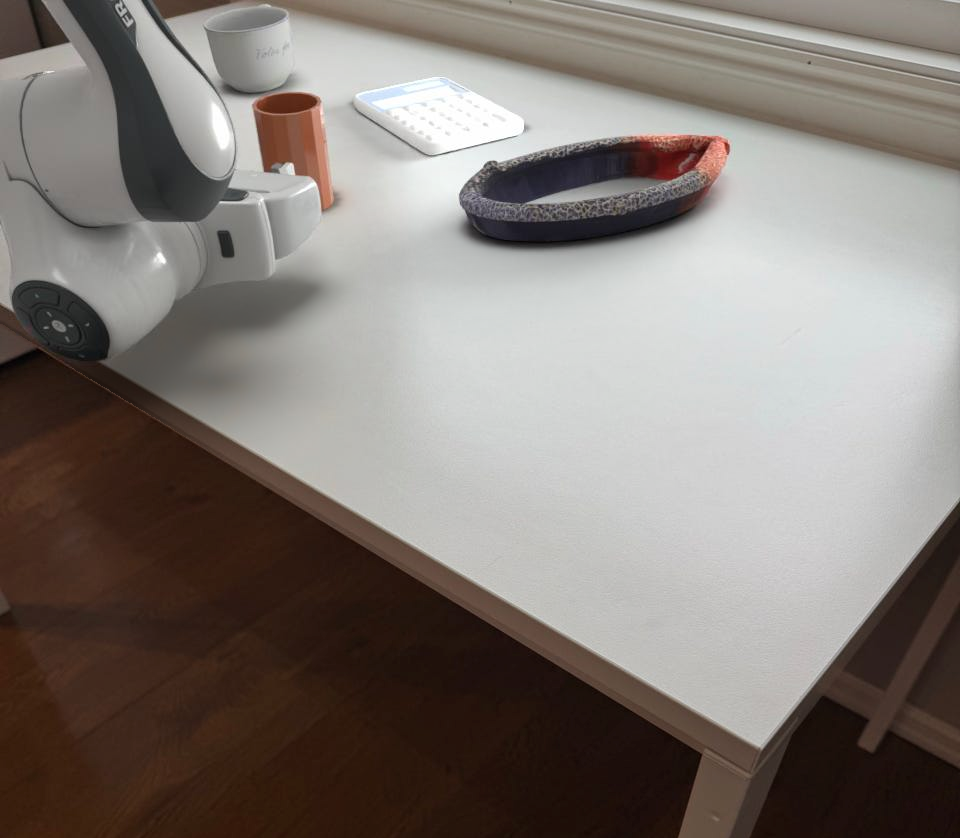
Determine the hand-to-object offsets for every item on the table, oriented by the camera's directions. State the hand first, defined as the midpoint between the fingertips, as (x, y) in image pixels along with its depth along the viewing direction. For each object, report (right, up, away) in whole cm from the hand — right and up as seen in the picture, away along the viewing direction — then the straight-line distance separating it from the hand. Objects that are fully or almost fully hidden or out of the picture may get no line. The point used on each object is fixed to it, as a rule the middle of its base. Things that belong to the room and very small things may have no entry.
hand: (238, 166), depth 87 cm
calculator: (+17, +20, +30) cm, 40 cm away
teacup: (-7, +31, +41) cm, 52 cm away
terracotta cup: (+3, +2, +13) cm, 14 cm away
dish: (+34, +1, +11) cm, 36 cm away
